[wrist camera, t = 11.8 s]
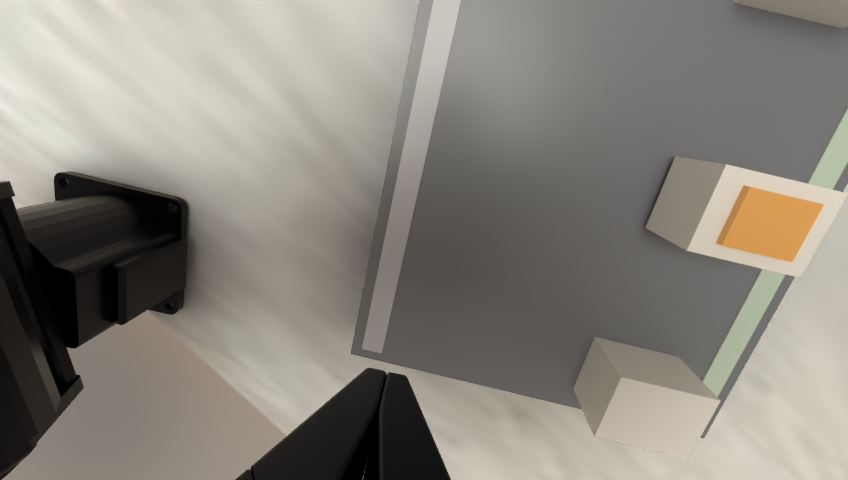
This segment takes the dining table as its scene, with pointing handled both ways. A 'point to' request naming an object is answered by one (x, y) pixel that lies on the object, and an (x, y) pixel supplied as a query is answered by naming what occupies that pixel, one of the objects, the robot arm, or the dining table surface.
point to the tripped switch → (743, 215)
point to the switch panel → (593, 197)
